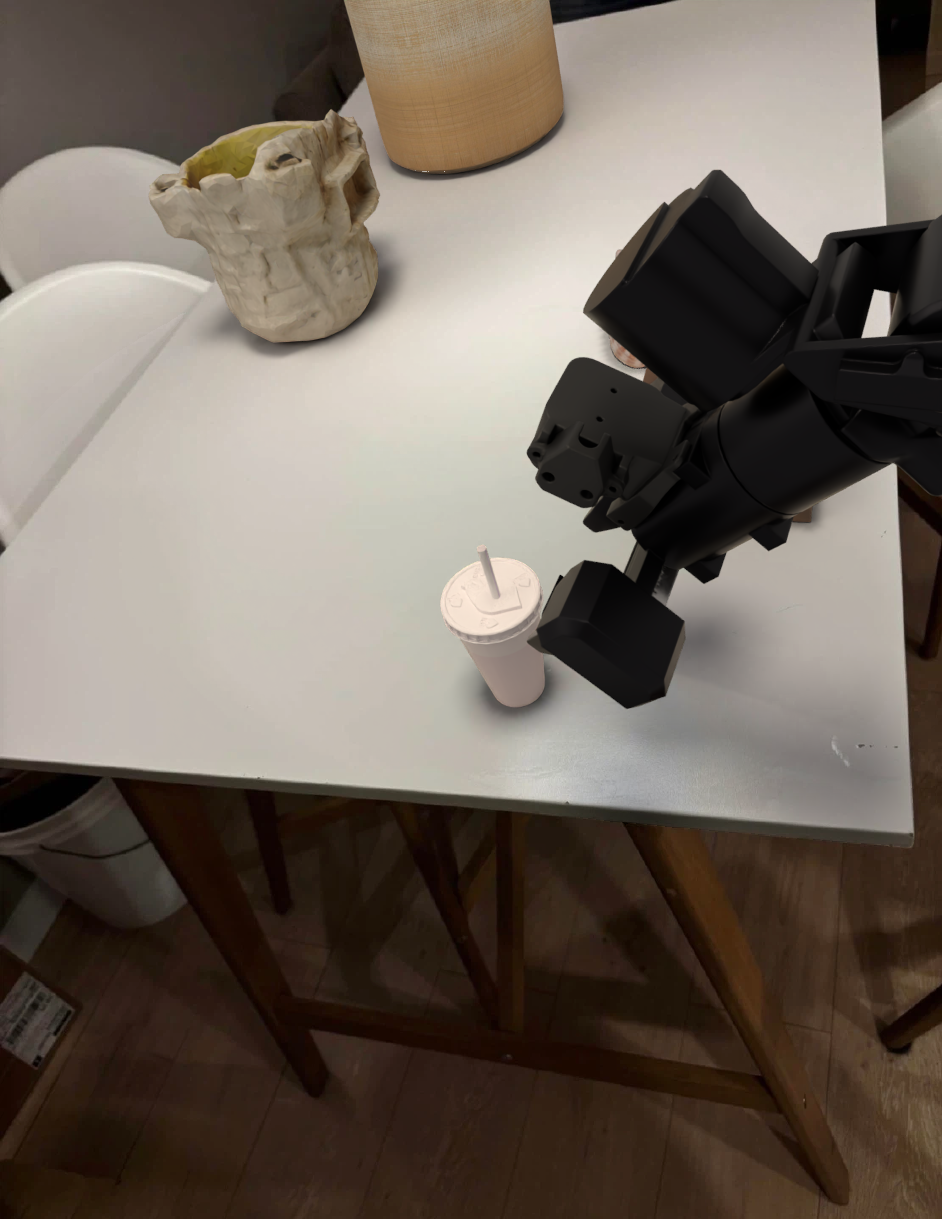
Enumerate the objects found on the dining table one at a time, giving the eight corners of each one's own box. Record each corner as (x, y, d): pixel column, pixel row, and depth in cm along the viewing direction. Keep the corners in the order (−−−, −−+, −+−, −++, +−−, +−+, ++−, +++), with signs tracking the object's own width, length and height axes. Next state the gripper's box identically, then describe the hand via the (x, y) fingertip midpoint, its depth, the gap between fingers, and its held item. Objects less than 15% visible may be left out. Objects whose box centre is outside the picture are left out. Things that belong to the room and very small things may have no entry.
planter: (508, 185, 112) (469, -18, 96) (354, 177, 124) (296, -4, 108) (598, 94, 124) (576, -100, 108) (449, 96, 136) (410, -78, 120)
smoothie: (529, 739, 59) (484, 602, 48) (455, 700, 62) (398, 564, 52) (582, 669, 61) (550, 525, 51) (508, 635, 65) (464, 494, 54)
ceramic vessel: (215, 191, 110) (260, -10, 90) (385, 299, 114) (464, 130, 94) (113, 290, 97) (139, 81, 77) (309, 409, 101) (382, 239, 81)
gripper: (688, 212, 41) (513, 391, 54) (547, 487, 31) (373, 626, 44) (854, 366, 44) (649, 502, 56) (773, 666, 34) (547, 748, 46)
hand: (562, 582), depth 51 cm, fingers open, 9 cm apart
